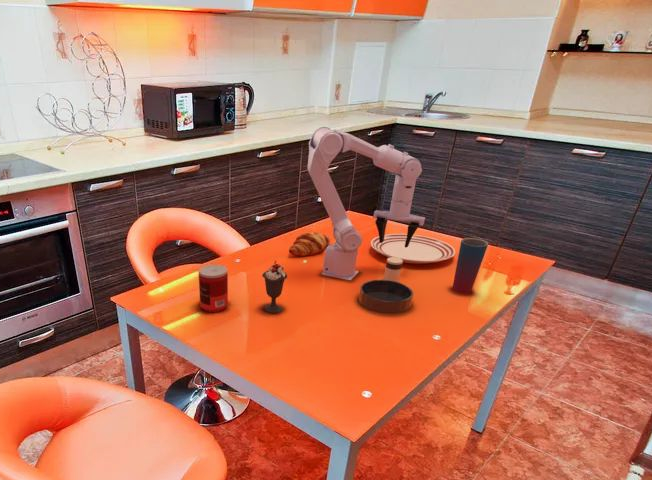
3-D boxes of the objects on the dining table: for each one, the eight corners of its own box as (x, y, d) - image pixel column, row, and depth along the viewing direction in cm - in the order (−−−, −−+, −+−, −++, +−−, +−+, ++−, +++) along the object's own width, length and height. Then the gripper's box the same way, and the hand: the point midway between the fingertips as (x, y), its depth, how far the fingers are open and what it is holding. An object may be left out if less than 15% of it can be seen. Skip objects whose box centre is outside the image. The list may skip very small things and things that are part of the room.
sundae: (269, 316, 128) (271, 264, 120) (256, 306, 133) (258, 255, 125) (290, 311, 130) (293, 259, 123) (276, 301, 136) (279, 251, 128)
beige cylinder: (380, 285, 143) (385, 260, 139) (385, 280, 147) (389, 255, 142) (395, 289, 141) (400, 263, 137) (399, 283, 144) (404, 258, 140)
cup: (476, 297, 136) (491, 247, 128) (451, 295, 137) (464, 245, 129) (471, 287, 142) (484, 238, 134) (446, 285, 143) (458, 237, 135)
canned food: (231, 301, 136) (231, 265, 130) (222, 314, 129) (221, 277, 124) (206, 298, 138) (205, 262, 132) (196, 310, 132) (194, 273, 126)
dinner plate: (385, 235, 181) (386, 227, 179) (462, 250, 167) (464, 241, 165) (357, 258, 162) (358, 249, 160) (440, 277, 148) (443, 267, 146)
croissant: (321, 250, 178) (315, 229, 177) (342, 243, 170) (336, 222, 169) (283, 264, 166) (276, 242, 165) (304, 258, 158) (297, 235, 157)
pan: (351, 307, 132) (353, 294, 130) (367, 288, 142) (369, 276, 140) (402, 319, 125) (405, 306, 123) (415, 299, 136) (418, 286, 133)
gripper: (430, 199, 139) (421, 244, 146) (381, 193, 146) (374, 236, 153) (425, 205, 134) (415, 251, 141) (374, 198, 141) (367, 242, 148)
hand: (393, 244), depth 147 cm, fingers open, 7 cm apart
